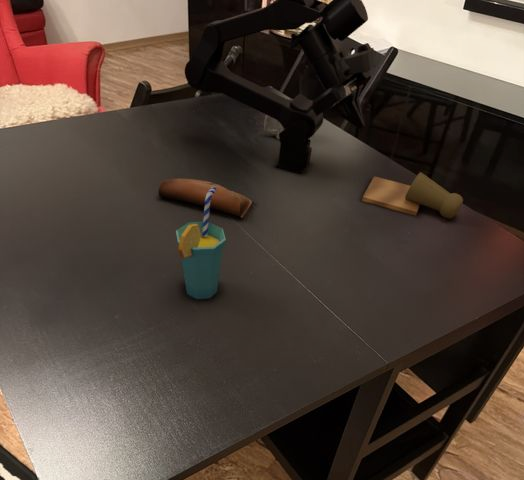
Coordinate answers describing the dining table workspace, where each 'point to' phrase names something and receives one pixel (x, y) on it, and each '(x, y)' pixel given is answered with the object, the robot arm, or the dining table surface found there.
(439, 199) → the pepper shaker
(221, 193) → the sunglasses case
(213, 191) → the cup
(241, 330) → the dining table surface
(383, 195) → the cork mat
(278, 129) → the mug
